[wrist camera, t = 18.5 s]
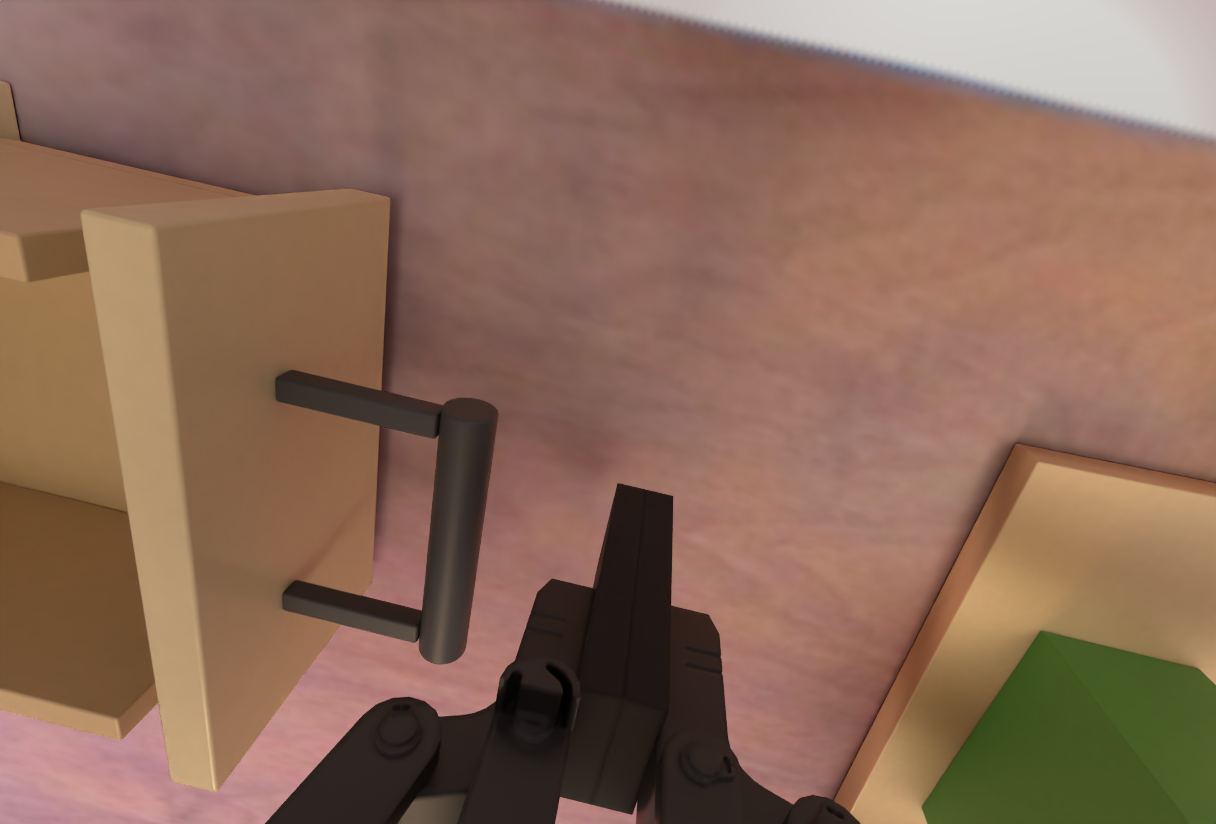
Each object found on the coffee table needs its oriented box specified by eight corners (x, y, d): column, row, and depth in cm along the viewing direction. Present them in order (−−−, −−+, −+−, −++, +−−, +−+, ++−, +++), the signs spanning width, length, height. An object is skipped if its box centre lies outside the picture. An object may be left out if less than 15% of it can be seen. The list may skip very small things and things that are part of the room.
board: (1015, 442, 17) (1037, 461, 16) (1363, 511, 17) (1410, 536, 16) (809, 847, 25) (815, 878, 24) (1041, 900, 25) (1058, 934, 24)
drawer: (564, 236, 16) (466, 299, 9) (501, 613, 21) (409, 844, 14) (-115, 81, 16) (-745, 16, 9) (-6, 488, 22) (-345, 649, 14)
